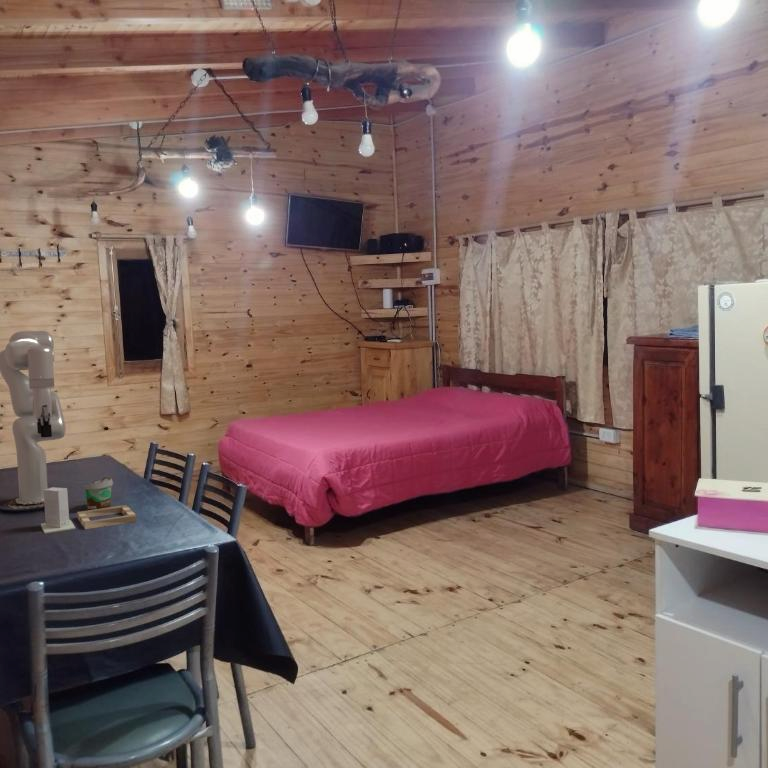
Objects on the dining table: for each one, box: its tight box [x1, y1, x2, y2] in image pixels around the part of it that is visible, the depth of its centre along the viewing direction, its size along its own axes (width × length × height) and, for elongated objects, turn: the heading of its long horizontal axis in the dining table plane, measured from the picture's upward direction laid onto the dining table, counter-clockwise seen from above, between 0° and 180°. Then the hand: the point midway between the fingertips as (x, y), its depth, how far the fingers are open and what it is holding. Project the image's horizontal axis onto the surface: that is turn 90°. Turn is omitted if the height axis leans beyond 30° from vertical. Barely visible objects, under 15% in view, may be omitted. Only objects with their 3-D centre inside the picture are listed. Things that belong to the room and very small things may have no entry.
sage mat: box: [40, 519, 76, 534], centre depth 233 cm, size 11×9×1 cm
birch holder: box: [76, 504, 138, 530], centre depth 240 cm, size 16×16×2 cm
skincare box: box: [43, 487, 70, 527], centre depth 232 cm, size 6×4×12 cm
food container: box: [83, 475, 114, 511], centre depth 255 cm, size 12×6×10 cm, turn 168°
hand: (44, 435), depth 241 cm, fingers open, 9 cm apart
